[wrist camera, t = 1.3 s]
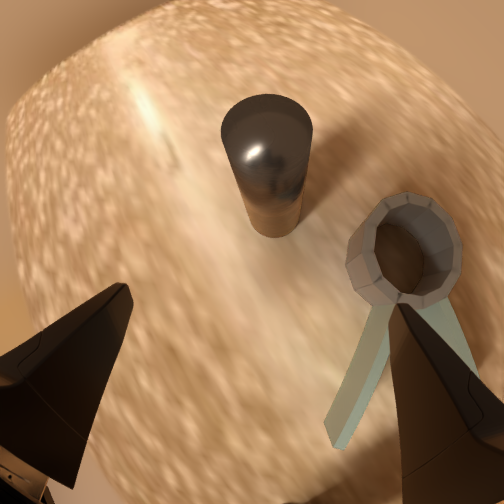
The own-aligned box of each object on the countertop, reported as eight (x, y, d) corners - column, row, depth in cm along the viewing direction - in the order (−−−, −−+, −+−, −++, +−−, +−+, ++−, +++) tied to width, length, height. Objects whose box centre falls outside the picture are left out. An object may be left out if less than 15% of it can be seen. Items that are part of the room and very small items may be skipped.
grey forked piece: (447, 429, 19) (474, 447, 14) (310, 422, 21) (317, 447, 16) (479, 238, 22) (511, 224, 17) (353, 206, 24) (368, 182, 19)
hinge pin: (294, 242, 24) (305, 174, 12) (244, 232, 24) (210, 160, 12) (303, 194, 24) (317, 100, 12) (255, 186, 25) (232, 90, 13)
